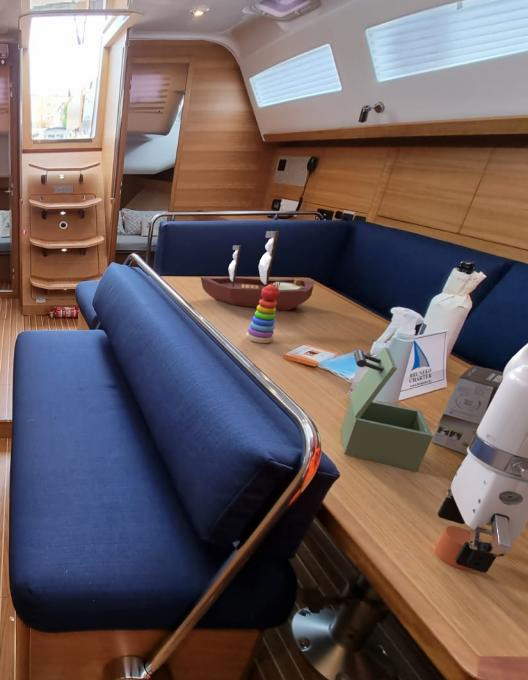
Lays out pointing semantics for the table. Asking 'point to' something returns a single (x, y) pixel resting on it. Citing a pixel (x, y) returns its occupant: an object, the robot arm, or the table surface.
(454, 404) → the coffee box
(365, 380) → the green box lid
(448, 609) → the table surface
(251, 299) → the sailing ship
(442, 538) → the cylinder
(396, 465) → the green hollow box
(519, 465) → the robot arm
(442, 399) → the table surface
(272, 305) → the stacking toy
